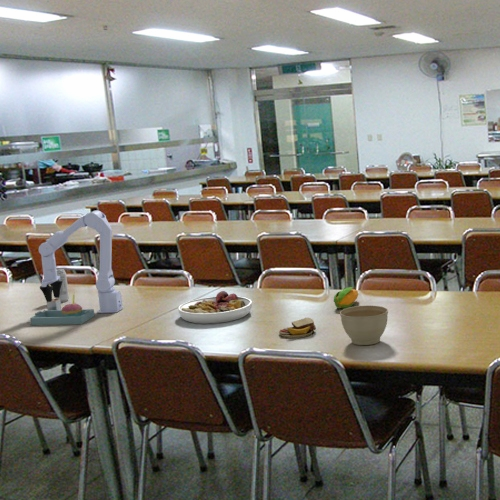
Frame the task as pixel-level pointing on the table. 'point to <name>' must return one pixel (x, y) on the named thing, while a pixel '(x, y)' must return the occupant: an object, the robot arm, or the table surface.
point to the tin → (54, 305)
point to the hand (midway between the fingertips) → (53, 299)
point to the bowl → (215, 309)
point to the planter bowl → (364, 323)
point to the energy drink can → (63, 286)
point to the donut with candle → (72, 309)
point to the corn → (345, 298)
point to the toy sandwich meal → (299, 329)
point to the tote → (60, 317)
